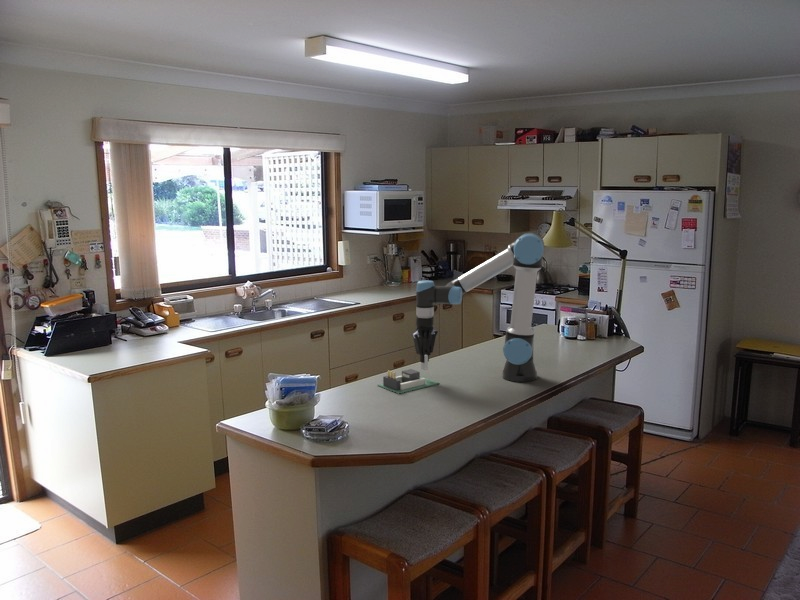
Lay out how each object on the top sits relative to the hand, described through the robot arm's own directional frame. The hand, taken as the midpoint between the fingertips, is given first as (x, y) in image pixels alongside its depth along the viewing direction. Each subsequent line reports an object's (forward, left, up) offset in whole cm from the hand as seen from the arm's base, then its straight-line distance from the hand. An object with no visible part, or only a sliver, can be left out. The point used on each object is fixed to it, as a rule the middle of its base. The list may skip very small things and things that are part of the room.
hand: (424, 369), depth 292 cm
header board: (0, +9, -5) cm, 11 cm away
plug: (0, +8, -5) cm, 9 cm away
